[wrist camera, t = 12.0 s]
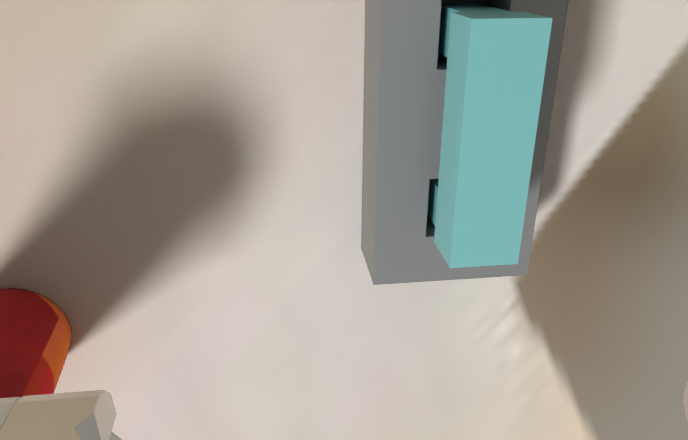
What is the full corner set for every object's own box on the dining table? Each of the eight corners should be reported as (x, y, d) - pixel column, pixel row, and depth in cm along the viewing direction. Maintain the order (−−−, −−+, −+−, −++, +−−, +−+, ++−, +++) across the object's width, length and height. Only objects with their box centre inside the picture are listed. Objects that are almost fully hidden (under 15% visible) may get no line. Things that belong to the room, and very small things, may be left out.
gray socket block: (366, -70, 26) (383, -74, 23) (536, -69, 27) (578, -72, 24) (361, 248, 33) (373, 284, 29) (498, 240, 34) (526, 274, 30)
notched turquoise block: (422, 3, 27) (471, 18, 21) (485, 2, 27) (552, 18, 21) (411, 204, 31) (449, 268, 25) (466, 201, 31) (517, 264, 25)
